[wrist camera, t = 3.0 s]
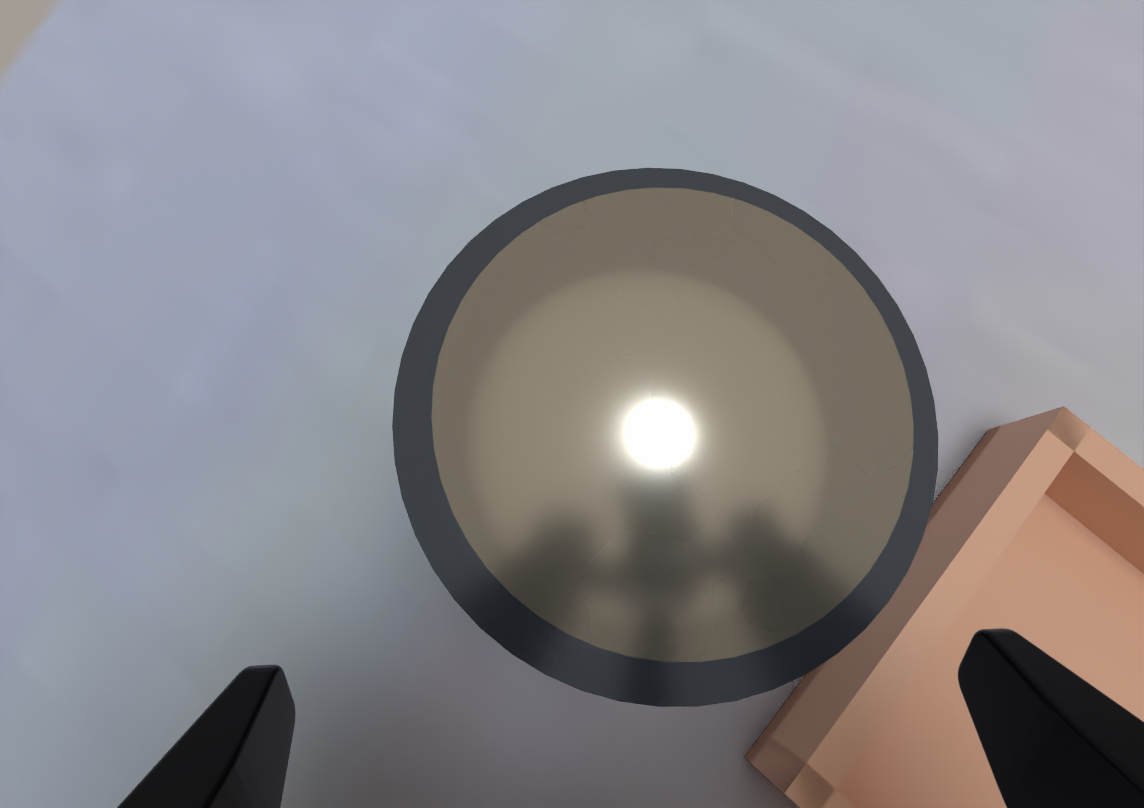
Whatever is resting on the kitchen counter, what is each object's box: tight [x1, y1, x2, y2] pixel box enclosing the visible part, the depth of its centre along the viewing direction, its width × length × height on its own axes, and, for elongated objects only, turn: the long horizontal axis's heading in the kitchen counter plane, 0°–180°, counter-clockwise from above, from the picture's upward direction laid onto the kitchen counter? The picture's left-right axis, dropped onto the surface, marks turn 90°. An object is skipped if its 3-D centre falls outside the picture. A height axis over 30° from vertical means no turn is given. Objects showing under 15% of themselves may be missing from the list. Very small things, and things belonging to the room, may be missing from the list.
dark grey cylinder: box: [392, 168, 938, 707], centre depth 13 cm, size 5×5×13 cm
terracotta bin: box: [745, 406, 1144, 808], centre depth 17 cm, size 12×12×3 cm
